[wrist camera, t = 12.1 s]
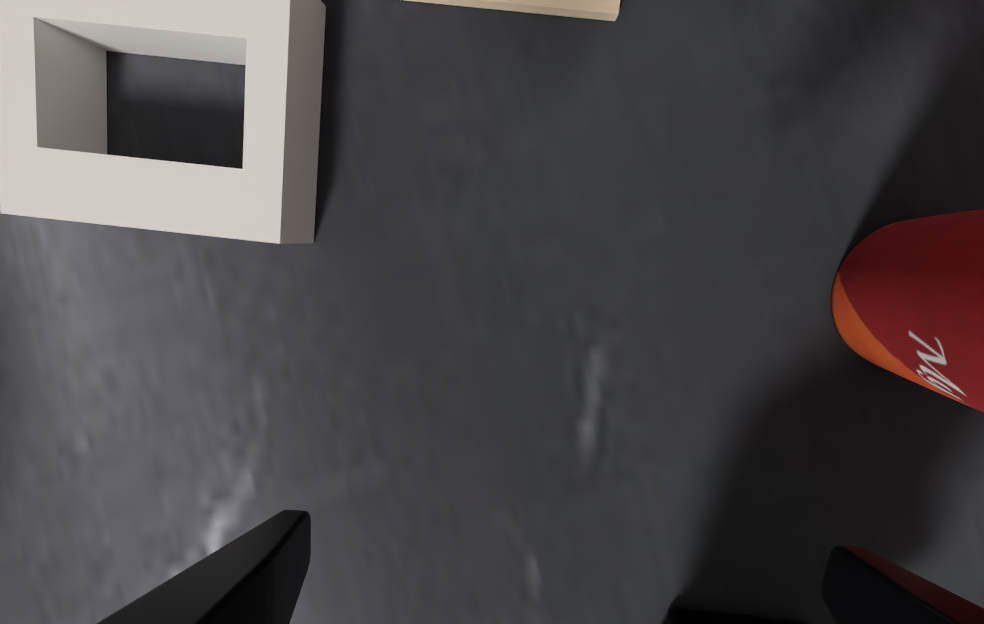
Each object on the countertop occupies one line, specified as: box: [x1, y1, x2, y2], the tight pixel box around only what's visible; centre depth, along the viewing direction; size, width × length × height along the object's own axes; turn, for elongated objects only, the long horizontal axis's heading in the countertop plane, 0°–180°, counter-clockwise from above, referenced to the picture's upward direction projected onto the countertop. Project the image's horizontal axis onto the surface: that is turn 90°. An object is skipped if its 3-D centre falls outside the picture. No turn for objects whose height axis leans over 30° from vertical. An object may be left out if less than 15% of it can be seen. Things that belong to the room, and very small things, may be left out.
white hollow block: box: [0, 0, 326, 244], centre depth 18 cm, size 10×9×3 cm
